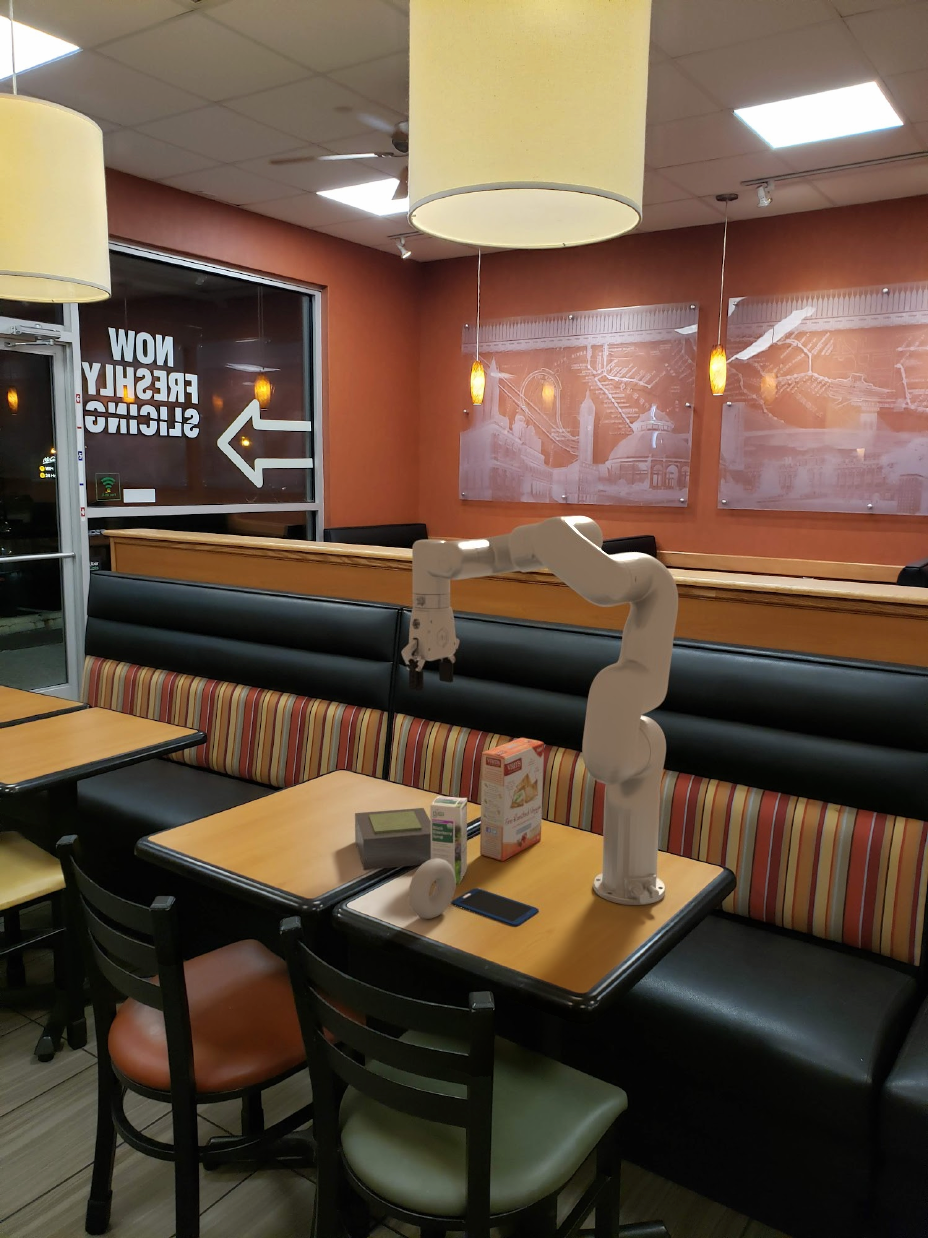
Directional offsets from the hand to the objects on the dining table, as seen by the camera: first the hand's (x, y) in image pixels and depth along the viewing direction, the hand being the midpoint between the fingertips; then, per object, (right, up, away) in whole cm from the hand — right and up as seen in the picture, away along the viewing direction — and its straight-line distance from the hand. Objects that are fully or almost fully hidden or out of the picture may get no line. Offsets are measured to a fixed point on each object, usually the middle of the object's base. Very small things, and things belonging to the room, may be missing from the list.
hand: (431, 685), depth 183 cm
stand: (-7, -32, -5) cm, 34 cm away
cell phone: (+12, -36, -28) cm, 48 cm away
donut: (+1, -36, -32) cm, 48 cm away
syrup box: (+4, -34, -16) cm, 38 cm away
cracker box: (+16, -32, -3) cm, 36 cm away
